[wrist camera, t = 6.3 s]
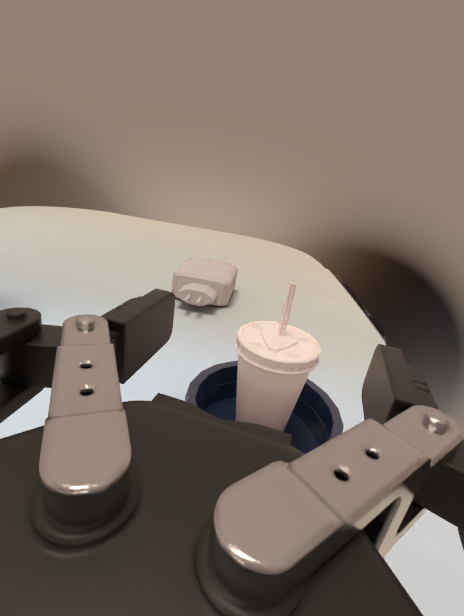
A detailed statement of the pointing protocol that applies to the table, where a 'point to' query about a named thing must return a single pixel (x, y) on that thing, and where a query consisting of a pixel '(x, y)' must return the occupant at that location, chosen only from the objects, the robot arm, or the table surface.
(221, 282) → the charger
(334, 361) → the table surface
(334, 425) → the pot
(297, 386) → the smoothie
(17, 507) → the robot arm
